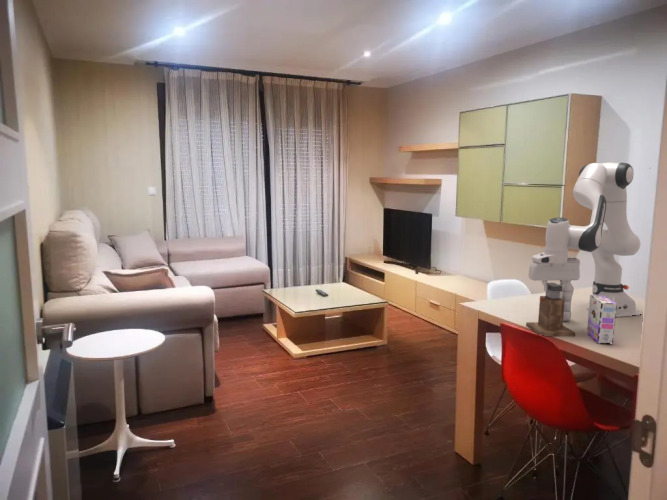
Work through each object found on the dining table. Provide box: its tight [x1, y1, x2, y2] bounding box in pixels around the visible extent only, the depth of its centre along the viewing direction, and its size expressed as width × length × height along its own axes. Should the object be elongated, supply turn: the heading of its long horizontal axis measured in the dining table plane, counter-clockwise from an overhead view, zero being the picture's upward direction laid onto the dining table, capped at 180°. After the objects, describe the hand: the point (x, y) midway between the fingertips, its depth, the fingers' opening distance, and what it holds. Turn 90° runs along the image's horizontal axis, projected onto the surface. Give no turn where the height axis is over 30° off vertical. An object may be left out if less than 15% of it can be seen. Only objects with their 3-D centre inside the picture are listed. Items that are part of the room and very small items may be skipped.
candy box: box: [586, 294, 617, 344], centre depth 200 cm, size 14×6×16 cm, turn 170°
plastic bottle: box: [558, 280, 575, 322], centre depth 223 cm, size 6×7×20 cm
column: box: [544, 282, 562, 300], centre depth 209 cm, size 4×7×18 cm, turn 4°
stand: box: [525, 295, 576, 337], centre depth 209 cm, size 14×14×14 cm
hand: (552, 290), depth 208 cm, fingers closed on column, 4 cm apart
